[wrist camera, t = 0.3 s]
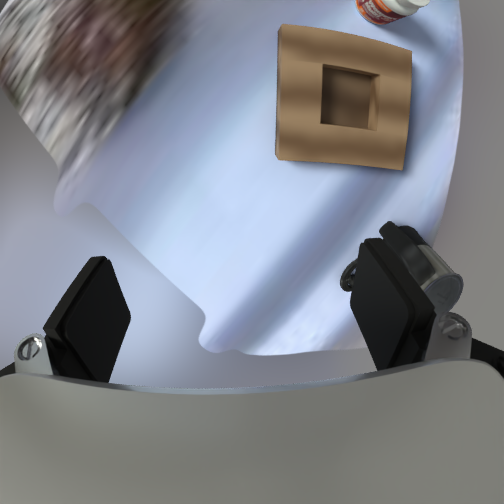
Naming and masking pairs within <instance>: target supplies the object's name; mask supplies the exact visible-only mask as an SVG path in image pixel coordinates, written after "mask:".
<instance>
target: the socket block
mask: <svg viewBox="0 0 504 504" xmlns="http://www.w3.org/2000/svg"><path fill="white" fill-rule="evenodd" d="M411 78H412V51H410V50H407V49H404V48H401V47H398V46H394V45H391V44H388V43H384V42H381V41H377V40H374V39H370V38H366V37H362V36H357V35H353V34H348V33H343V32H338V31H333V30H327V29H321V28H314V27H307V26H298V25H288V24H282V25H281V27H280V29H279V30H278V60H277V106H276V140H275V155H276V157H277V158H278V160H287V161H310V162H326V163H340V164H351V165H362V166H371V167H380V168H388V169H396V170H403V164H404V157H405V150H406V142H407V134H408V124H409V113H410V99H411Z"/></svg>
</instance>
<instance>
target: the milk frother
mask: <svg viewBox="0 0 504 504" xmlns="http://www.w3.org/2000/svg"><path fill="white" fill-rule="evenodd" d="M379 233H380V234H381V236H382V237H383V241H384V242H385V243H386V245H387V246H388V247H389V248H390V249H391V250H392V252H393V253H394V254H395V255H396V257H397V258H398V259H399V260H400V261H401V263H402V264H403V265H404V266H405V268H406V269H407V270H408V271H409V273H410V274H411V275H412V277H413V278H414V279H415V281H416V282H417V283H418V284H419V286H420V287H421V288H422V290H423V291H424V292H425V294H426V295H427V297H428V298H429V299H430V301H431V302H432V303H433V305H434V306H435V309H434V311H435V313H436V314H437V315H438V314H439V313H442V312H448V311H450V310H451V309H452V308H453V306H454V305H455V304H456V302H457V301H458V299H459V298H460V295H461V293H462V289H463V279H462V277H461V276H460V275H459V274H456V273H454V271H453V270H452V269H451V268H450V267H449V266H448V265H447V264H446V263H445V262H444V261H443V260H442V259H441V257H440V256H439V255H438V254H437V253H436V252H435V251H434V250H433V249H432V248H431V247H430V246H429V245H428V244H427V243H426V242H425V241H424V240H423V239H422V237H421V236H420V235H419V234H418V232H417V231H416V230H415V229H414V228H412V227H410V226H400V227H397V226H396V225H395V224H394V223H393V222H391V221H388V222H387V223H386V224H384V225H383V226H382V227H381V228H380V230H379ZM357 260H358V258H357V259H356V260H354V261H353V262H351V263H350V264H349V265H348V266H347V267H346V269H345V270H344V272H343V273H342V276H341V279H340V286H341V288H342V289H343V290H344V291H347V292H349V291H352V288H353V283H354V278H355V275H351V273H352V271H353V270H354V269H355V268H356V266H357ZM348 283H349V284H350V286H349V285H348Z"/></svg>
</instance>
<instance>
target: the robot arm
mask: <svg viewBox="0 0 504 504" xmlns="http://www.w3.org/2000/svg"><path fill="white" fill-rule="evenodd" d="M350 306H351V309H352V312H353V314H354V316H355V318H356V321H357V323H358V325H359V328H360V330H361V332H362V334H363V337H364V339H365V342H366V344H367V346H368V349H369V351H370V354H371V356H372V358H373V361H374V363H375V366H376V368H377V371H375V372H370V373H364V374H358V375H353V376H347V377H341V378H335V379H329V380H322V381H314V382H307V383H298V384H288V385H277V386H264V387H249V388H223V389H222V388H221V389H188V388H187V389H185V388H161V387H144V386H132V385H122V384H112V383H109V380H110V377H111V374H112V371H113V367H114V365H115V362H116V359H117V356H118V353H119V350H120V347H121V345H122V342H123V339H124V337H125V334H126V331H127V329H128V326H129V323H130V320H131V315H130V311H129V309H128V306H127V304H126V301H125V299H124V296H123V293H122V291H121V288H120V286H119V283H118V280H117V278H116V274H115V272H114V269H113V266H112V263H111V261H110V260H107V258H106V257H105V256H98V257H91V258H90V259H89V260H88V262H87V263H86V264H85V266H84V267H83V268H82V270H81V271H80V272H79V274H78V275H77V277H76V278H75V280H74V281H73V282H72V284H71V285H70V286H69V288H68V289H67V291H66V292H65V294H64V295H63V297H62V298H61V300H60V301H59V303H58V305H57V306H56V307H55V309H54V311H53V312H52V314H51V315H50V317H49V318H48V320H47V322H46V323H45V325H44V327H43V330H44V331H45V333H46V336H45V338H44V337H43V336H42V335H41V334H37V333H36V334H31V335H28V336H26V337H25V338H23V339H22V340H21V341H20V342H19V344H18V345H17V347H16V349H15V352H14V360H15V362H13V363H12V364H10V365H8V366H7V367H5V368H3V369H2V370H0V504H504V351H502V350H499V349H497V348H494V347H492V346H490V345H487V344H485V343H483V342H481V341H478V340H476V339H473V338H472V330H471V327H470V325H469V323H468V322H467V321H466V319H464V318H463V317H462V316H460V315H458V314H456V313H452V312H442V313H439V314H438V315H437V314H436V313H435V311H434V309H435V306H434V305H433V303H432V302H431V301H430V299H429V298H428V297H427V295H426V294H425V292H424V291H423V290H422V288H421V287H420V286H419V284H418V283H417V282H416V281H415V279H414V278H413V277H412V275H411V274H410V273H409V271H408V270H407V269H406V268H405V266H404V265H403V264H402V263H401V261H400V260H399V259H398V258H397V257H396V255H395V254H394V253H393V252H392V250H391V249H390V248H389V247H388V246H387V245H386V243H385V242H384V241H383V240H382V239H381V238H368V239H365V241H364V243H361V244H360V248H359V254H358V260H357V266H356V272H355V278H354V283H353V288H352V293H351V298H350Z"/></svg>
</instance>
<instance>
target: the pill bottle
mask: <svg viewBox="0 0 504 504" xmlns="http://www.w3.org/2000/svg"><path fill="white" fill-rule="evenodd" d="M429 1H430V0H355V4H356V8H357V10H358V12H359V13H360V14H361V15H362V16H363V17H364V18H365V19H366V20H368V21H369V22H371V23H374V24H378V25H383V24H387V23H390V22H392V21H395V20H398V19H400V18H403V17H406V16H409V15H412V14H414V13H415V12H417V10H418V9H419V8H421V7H424V6H426V5H427V4H428V3H429Z"/></svg>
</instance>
